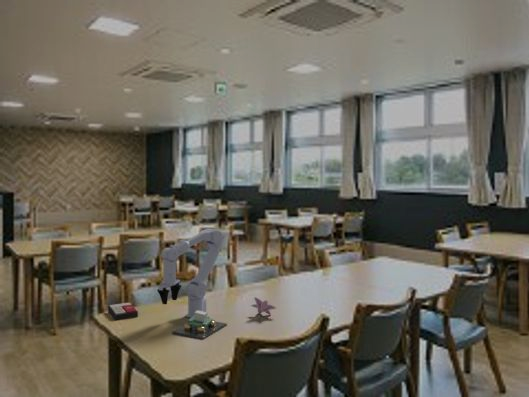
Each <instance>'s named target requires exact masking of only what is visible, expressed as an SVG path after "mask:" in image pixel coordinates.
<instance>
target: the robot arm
mask: <svg viewBox="0 0 529 397" xmlns="http://www.w3.org/2000/svg"><path fill="white" fill-rule="evenodd" d="M223 239H224V235H223V232H222V231H221V230H220V229H213V228H210V227H209V228H208V227H207V228H205V229H203V230H201V231H200V232H198V233H197V234H195V235H193V236H192V237H190V238H189V239H188V240H187V239H186V240H185V239H181V240H178V242H176V243H175V244H171V245H170V247H165V248H164V249H162V252H161V253H160V257H161V258H162V264H163V265H162V266H163V267H162V269H163V270H162V271H163V272H162V273H163V274H162V277H163V279H162V280H163V281H162V282H161V284H160V285H158V287H157V293H158V295H159V297H160V300H161V303H162V305H167V304H168V299H169V298H168V297H169V292H170V291H171V292H170V293H171V300H172V301H177V299H178V296H179V292H180V289H181V288H182V284H181V279H177V278H176V277H177V273H176V272H177V269H176V268H177V267H176V266H177V262H176V260H178V257H179V256H181V255H182V256H183V254H185V253H187V252H188V251H190V248H191V247H192V246H195V245H197V244H199V243H202V242H203V241H205V242H206V244H207V246H208V250H207V253H206V255H205V257H204V259H203V261H202V263H201V266H199V270H198V271H197V273H196V276H195V277H194V278H191V280H190V281H189V283H188V284H187V285H186V286H185V293H186V295H187V314H185V315H184V317H185V318H186V317H187V318H191V317H193V316H194V313H195V312H196V311H197V310H198V311H203V312H207V298H206V297H205V295H206V293H207V292H206V291H207V287H208V284H207V280H208V278H209V276H210V273H211V271H212V269H213V267H214V265H215V263H216V261H217V259H218V256H219V254H220V252H221V250H222V242H223ZM167 288H170V289H167ZM208 314H209V312H207V315H208Z"/></svg>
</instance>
